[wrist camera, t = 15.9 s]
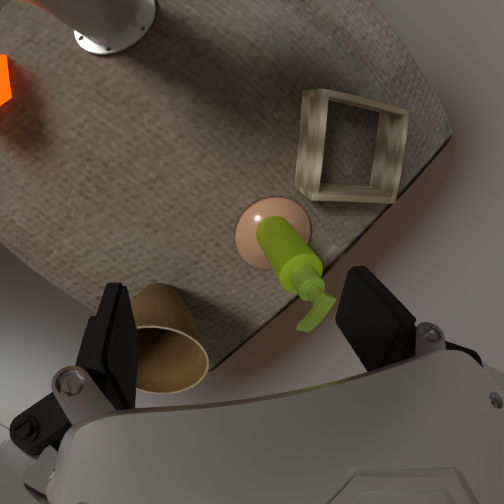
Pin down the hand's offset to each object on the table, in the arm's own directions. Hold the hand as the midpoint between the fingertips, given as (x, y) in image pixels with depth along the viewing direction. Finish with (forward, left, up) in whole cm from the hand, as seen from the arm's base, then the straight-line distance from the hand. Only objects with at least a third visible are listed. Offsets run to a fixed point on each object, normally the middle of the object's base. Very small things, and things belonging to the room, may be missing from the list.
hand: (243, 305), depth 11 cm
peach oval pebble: (+12, +12, -33) cm, 37 cm away
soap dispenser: (+12, +11, -32) cm, 36 cm away
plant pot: (+24, -8, -34) cm, 42 cm away
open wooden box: (-4, +23, -33) cm, 41 cm away
